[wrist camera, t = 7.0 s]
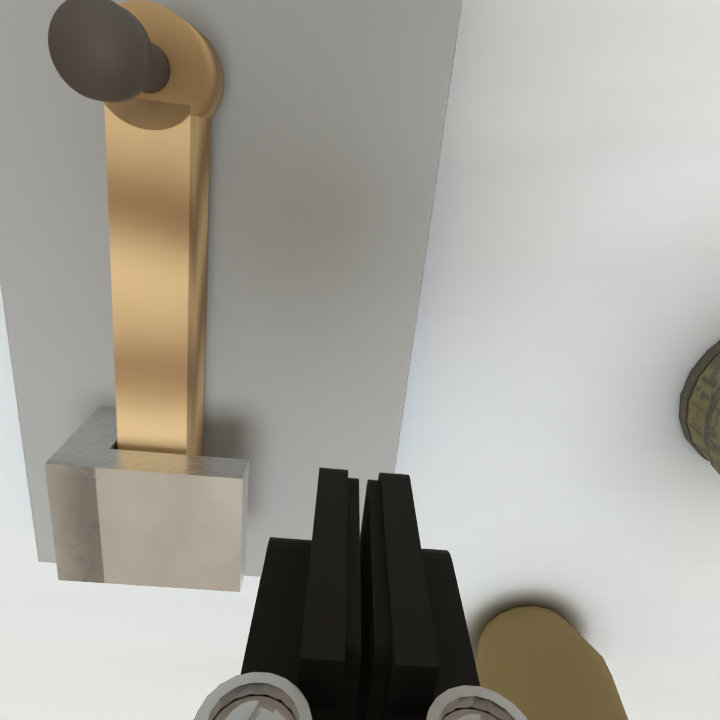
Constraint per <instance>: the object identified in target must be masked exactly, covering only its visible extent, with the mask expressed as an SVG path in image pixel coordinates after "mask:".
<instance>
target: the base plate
mask: <svg viewBox="0 0 720 720" xmlns="http://www.w3.org/2000/svg"><path fill="white" fill-rule="evenodd" d="M65 1H66V0H0V284H1V291H2V298H3V306H4V313H5V320H6V327H7V335H8V342H9V349H10V357H11V364H12V371H13V378H14V386H15V393H16V400H17V408H18V415H19V422H20V429H21V437H22V444H23V451H24V458H25V466H26V473H27V480H28V488H29V495H30V502H31V509H32V517H33V524H34V531H35V539H36V546H37V553H38V560H39V562H52V563H56V554H55V546H54V538H53V530H52V522H51V514H50V506H49V497H48V489H47V481H46V473H45V465H44V464H45V463H46V462H47V461H48V460H49V458H50V457H51V456H52V455H53V454H54V453H55V452H56V451H57V450H58V449H59V448H60V447H61V446H62V445H63V444H64V443H65V442H66V441H67V440H68V439H69V438H70V436H71V435H72V434H73V433H74V432H75V431H76V430H77V429H78V428H79V427H80V426H81V425H82V424H83V423H84V422H85V421H86V420H87V419H88V418H89V417H90V416H91V414H92V413H93V412H94V411H95V410H96V409H97V408H98V407H99V406H104V407H116V390H115V365H114V339H113V314H112V288H111V263H110V237H109V211H108V186H107V160H106V135H105V109H104V103H103V101H98V100H93V99H90V98H87V97H85V96H83V95H81V94H79V93H77V92H76V91H74V90H73V89H72V88H71V87H70V86H69V85H68V84H67V83H66V82H65V81H64V80H63V79H62V78H61V76H60V75H59V73H58V72H57V70H56V68H55V66H54V64H53V62H52V59H51V56H50V52H49V46H48V31H49V26H50V22H51V19H52V17H53V15H54V13H55V11H56V10H57V9H58V7H59V6H60V5H61V4H62V3H64V2H65ZM111 1H113V2H115V3H116V4H121V3H123V2H127V1H134V0H111ZM143 1H150V2H154V3H157V4H160V5H162V6H164V7H166V8H168V9H170V10H171V11H172V12H174V13H175V14H177V15H178V16H179V17H181V18H182V19H183V20H185V21H186V22H188V23H189V24H190V25H192V26H193V27H194V28H196V29H197V30H198V31H200V32H201V33H202V34H203V35H204V36H205V37H206V38H207V39H208V40H209V42H210V43H211V44H212V46H213V47H214V49H215V51H216V53H217V55H218V57H219V59H220V62H221V66H222V69H223V76H224V88H223V95H222V99H221V102H220V105H219V107H218V108H217V110H216V112H215V113H214V115H213V116H212V117H211V118H210V152H209V193H208V235H207V277H206V318H205V360H204V401H203V443H202V456H209V457H222V458H235V459H248V460H249V478H248V509H247V540H246V569H245V573H244V575H246V576H260V577H261V574H262V569H263V565H264V560H265V555H266V550H267V546H268V541H269V538H270V537H276V538H289V539H302V540H312V534H313V524H314V515H315V505H316V495H317V486H318V476H319V467H320V468H332V469H344V470H348V478H358V479H359V507H360V532H361V525H362V517H363V509H364V502H365V494H366V486H367V481H368V479H370V480H378V476H379V473H380V472H381V473H393V474H394V471H395V464H396V457H397V450H398V443H399V436H400V429H401V422H402V415H403V408H404V401H405V394H406V387H407V380H408V373H409V366H410V359H411V352H412V345H413V338H414V331H415V324H416V317H417V310H418V303H419V296H420V289H421V282H422V275H423V268H424V261H425V254H426V247H427V240H428V233H429V226H430V219H431V212H432V205H433V198H434V191H435V184H436V177H437V170H438V163H439V156H440V149H441V142H442V135H443V128H444V121H445V114H446V107H447V100H448V93H449V86H450V79H451V72H452V65H453V58H454V51H455V45H456V38H457V31H458V24H459V17H460V10H461V3H462V0H143Z"/></svg>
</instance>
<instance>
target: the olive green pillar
mask: <svg viewBox="0 0 720 720" xmlns="http://www.w3.org/2000/svg"><path fill="white" fill-rule="evenodd" d="M679 419H680V422H681V426H682V429H683V432H684V435H685V438H686V439H687V440H688V441H689V443H690V444H691V445H692V446H693V447H694V448H695V450H696V451H697V452H698V453H699V454H700V455H701V456H702V457H704V458H705V459H706V460H708V461H710V462H711V465H712V466H713V467H714V468H715V470H716V471H717V472H718V473H719V474H720V341H719V342H718V343H717V344H715V345H714V346H713V347H711V348H710V349H709V350H708V351H707V352H706V353H705V354H704V356H703V357H702V358H701V359H700V361H699V362H698V363H697V364H696V366H695V367H694V368H693V369H692V371H691V372H690V374H689V377H688V379H687V381H686V384H685V386H684V389H683V391H682V393H681V398H680V411H679Z"/></svg>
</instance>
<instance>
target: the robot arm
mask: <svg viewBox="0 0 720 720" xmlns="http://www.w3.org/2000/svg"><path fill="white" fill-rule="evenodd" d="M194 720H527V718H526V716H525V715H524V714H523V713H522V712H521V711H520V710H519V709H518V708H517V707H516V706H515V705H514V704H513V703H512V702H511V701H509V700H507V699H506V698H504V697H503V696H501V695H500V694H498V693H497V692H494V691H491V690H488V689H486V688H483V687H480V682H479V678H478V673H477V669H476V664H475V660H474V656H473V651H472V647H471V642H470V638H469V633H468V629H467V625H466V620H465V616H464V611H463V607H462V602H461V598H460V594H459V589H458V585H457V580H456V576H455V571H454V567H453V562H452V559H451V556H450V553H449V552H448V551H447V550H434V549H421V545H420V539H419V532H418V526H417V520H416V513H415V507H414V501H413V494H412V488H411V482H410V477H409V475H405V474H393V473H381V472H380V473H379V476H378V480H370V479H368V481H367V486H366V494H365V502H364V509H363V517H362V525H361V532H360V507H359V479H358V478H348V470H344V469H332V468H320V467H319V476H318V486H317V495H316V505H315V515H314V524H313V534H312V540H302V539H289V538H276V537H270V538H269V541H268V546H267V550H266V555H265V560H264V565H263V569H262V574H261V579H260V584H259V589H258V594H257V598H256V603H255V608H254V613H253V618H252V622H251V627H250V632H249V637H248V642H247V646H246V651H245V656H244V661H243V666H242V671H241V675H237V676H235V677H233V678H231V679H229V680H227V681H225V682H224V683H222V684H220V685H219V686H218V687H217V688H216V689H215V690H214V691H213V692H211V693H210V694H209V695H208V696H207V697H206V699H205V701H204V702H203V704H202V705H201V707H200V709H199V710H198V712H197V714H196V716H195V719H194Z"/></svg>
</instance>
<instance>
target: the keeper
mask: <svg viewBox="0 0 720 720" xmlns="http://www.w3.org/2000/svg"><path fill="white" fill-rule="evenodd" d="M44 465H45V473H46V481H47V489H48V497H49V506H50V514H51V522H52V530H53V538H54V546H55V554H56V563H57V571H58V579H59V580H67V581H82V582H98V583H113V584H128V585H143V586H159V587H174V588H189V589H204V590H220V591H235V592H240V589H241V585H242V581H243V577H244V573H245V569H246V540H247V509H248V478H249V460H248V459H235V458H222V457H209V456H196V455H183V454H171V453H158V452H145V451H132V450H119V449H118V442H117V416H116V407H104V406H99V407H98V408H97V409H96V410H95V411H94V412H93V413H92V414H91V416H90V417H89V418H88V419H87V420H86V421H85V422H84V423H83V424H82V425H81V426H80V427H79V428H78V429H77V430H76V431H75V432H74V433H73V434H72V435H71V436H70V438H69V439H68V440H67V441H66V442H65V443H64V444H63V445H62V446H61V447H60V448H59V449H58V450H57V451H56V452H55V453H54V454H53V455H52V456H51V457H50V458H49V460H48V461H47V462H46V463H45V464H44Z"/></svg>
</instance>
